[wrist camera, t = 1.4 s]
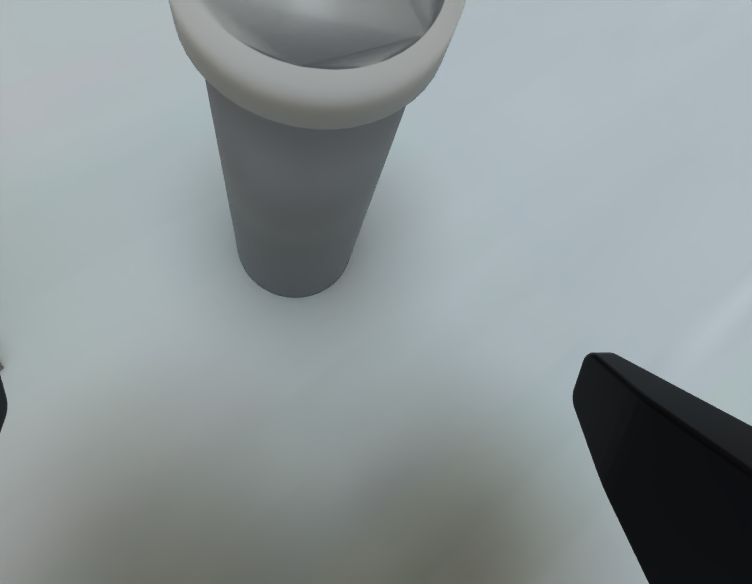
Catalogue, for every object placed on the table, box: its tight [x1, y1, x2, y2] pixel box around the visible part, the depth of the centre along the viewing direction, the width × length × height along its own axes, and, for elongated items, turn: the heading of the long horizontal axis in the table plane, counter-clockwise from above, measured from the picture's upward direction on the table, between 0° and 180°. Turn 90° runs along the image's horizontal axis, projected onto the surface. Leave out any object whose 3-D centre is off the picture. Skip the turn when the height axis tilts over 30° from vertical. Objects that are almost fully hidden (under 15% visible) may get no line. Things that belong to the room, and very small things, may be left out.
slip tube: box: [169, 0, 465, 298], centre depth 16 cm, size 5×5×14 cm
